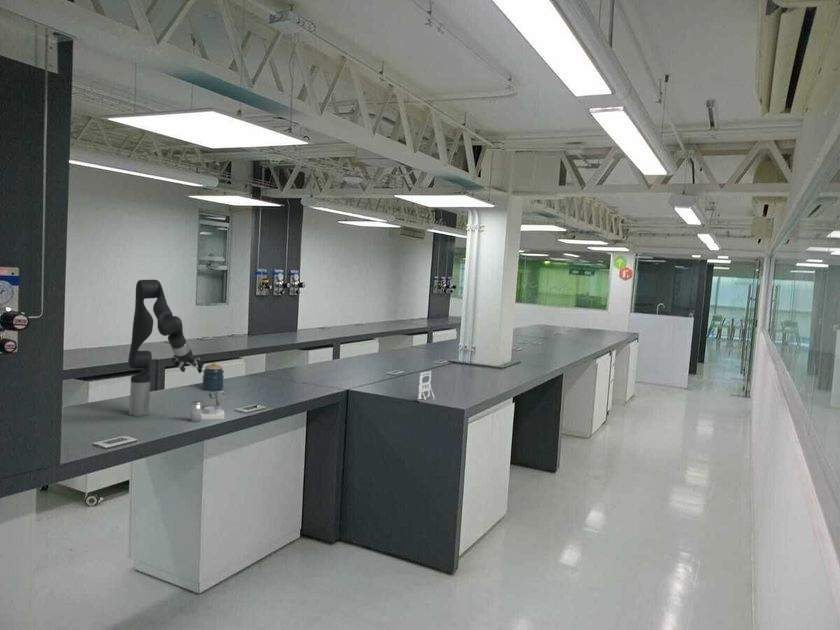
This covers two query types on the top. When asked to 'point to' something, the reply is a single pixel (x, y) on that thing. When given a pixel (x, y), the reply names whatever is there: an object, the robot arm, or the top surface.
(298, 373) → the top surface
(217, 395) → the mechanical component
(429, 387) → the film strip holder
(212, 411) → the flange plate
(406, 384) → the top surface
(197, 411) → the clear glass jar
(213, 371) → the canister
